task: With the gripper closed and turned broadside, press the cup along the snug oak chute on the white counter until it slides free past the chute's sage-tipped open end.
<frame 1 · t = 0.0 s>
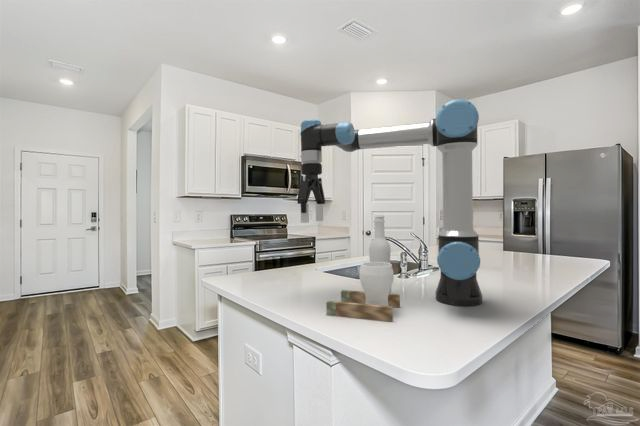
hand: (312, 221, 124), 28 cm above the countertop, fingers open, 13 cm apart
cup: (376, 312, 107), on the countertop
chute: (364, 310, 109), on the countertop
bottle: (380, 296, 127), on the countertop
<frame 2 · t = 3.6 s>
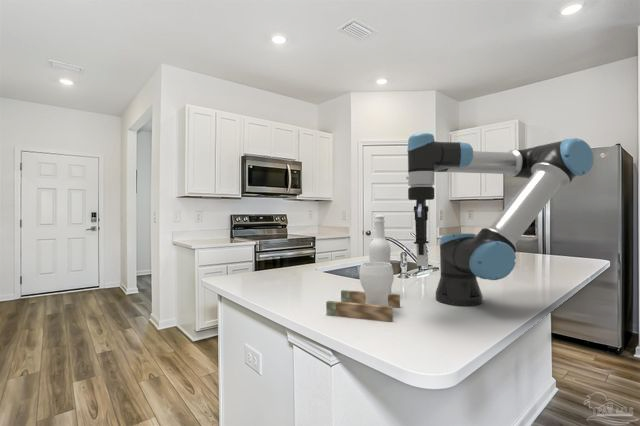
hand: (421, 265, 102), 15 cm above the countertop, fingers closed
nothing on the countertop moved.
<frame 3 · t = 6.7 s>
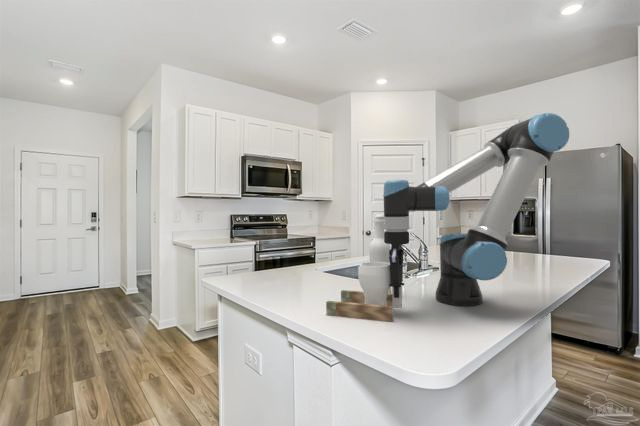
hand: (397, 307, 105), 2 cm above the countertop, fingers closed
cup: (375, 312, 107), on the countertop, touching gripper
everything else where it was.
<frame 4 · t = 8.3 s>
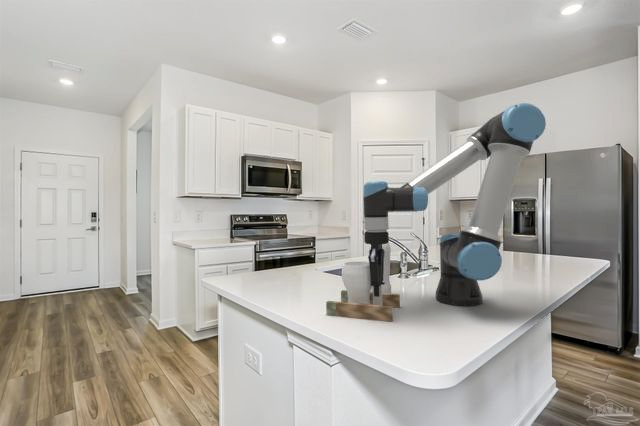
hand: (377, 305, 107), 2 cm above the countertop, fingers closed
cup: (358, 310, 109), on the countertop, touching gripper
everything else where it was.
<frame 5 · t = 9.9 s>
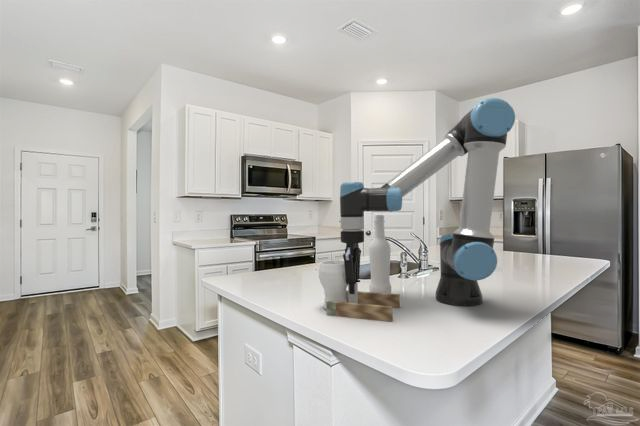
hand: (353, 303, 110), 2 cm above the countertop, fingers closed
cup: (335, 308, 112), on the countertop, touching gripper
everything else where it was.
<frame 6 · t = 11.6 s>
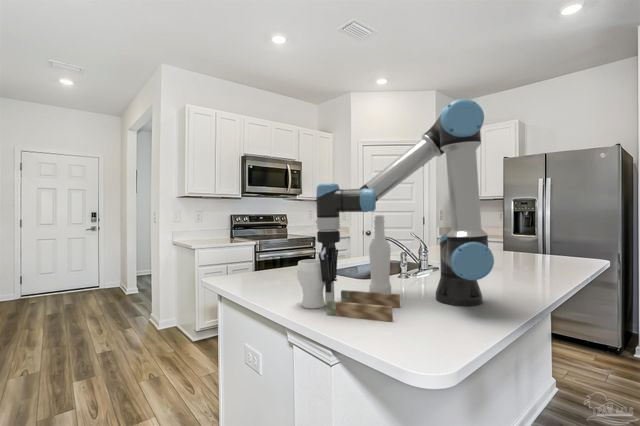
hand: (329, 301, 113), 2 cm above the countertop, fingers closed
cup: (313, 306, 115), on the countertop, touching gripper
everything else where it was.
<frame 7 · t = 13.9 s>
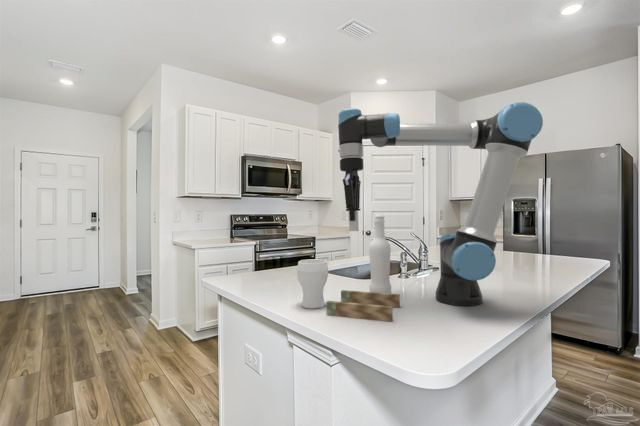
hand: (353, 230, 111), 25 cm above the countertop, fingers closed
cup: (313, 306, 115), on the countertop
everything else where it was.
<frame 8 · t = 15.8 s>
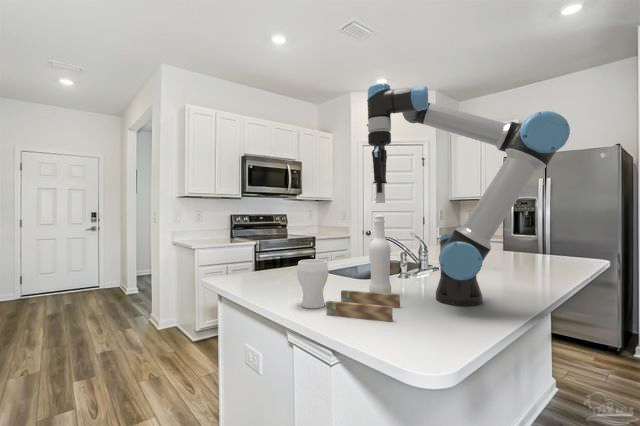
hand: (380, 202, 114), 34 cm above the countertop, fingers closed
nothing on the countertop moved.
at the end: cup inside the target area (8.1 cm from its centre), on the countertop; cup tilted 0°; cup touching countertop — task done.
